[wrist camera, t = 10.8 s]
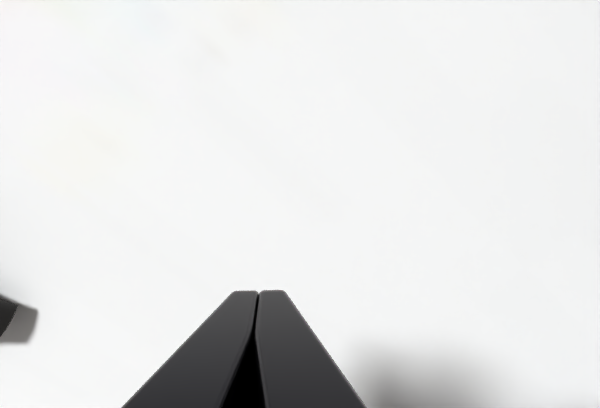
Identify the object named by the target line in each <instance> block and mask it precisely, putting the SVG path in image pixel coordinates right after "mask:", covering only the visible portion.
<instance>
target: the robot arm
mask: <svg viewBox="0 0 600 408" xmlns="http://www.w3.org/2000/svg"><path fill="white" fill-rule="evenodd" d="M122 408H367V407H366V406H365V404H364V403H363V402H362V400H361V399H360V397H359V396H358V394H357V393H356V392H355V390H354V389H353V387H352V386H351V384H350V383H349V382H348V380H347V379H346V377H345V376H344V375H343V373H342V372H341V370H340V369H339V367H338V366H337V365H336V363H335V362H334V360H333V359H332V357H331V356H330V355H329V353H328V352H327V350H326V349H325V348H324V346H323V345H322V343H321V342H320V340H319V339H318V338H317V336H316V335H315V333H314V332H313V331H312V329H311V328H310V326H309V325H308V323H307V322H306V321H305V319H304V318H303V316H302V315H301V313H300V312H299V311H298V309H297V308H296V306H295V305H294V304H293V302H292V301H291V299H290V298H289V296H288V295H287V294H286V292H285V291H283V290H263V291H261V292H260V293H259V294H258V292H257V291H234V292H232V293H231V294H230V295H229V296H228V297H227V299H226V300H225V301H224V302H223V303H222V304H221V305H220V306H219V307H218V308H217V309H216V310H215V311H214V312H213V313H212V314H211V315H210V316H209V317H208V318H207V319H206V320H205V321H204V322H203V323H202V324H201V326H200V327H199V328H198V329H197V330H196V331H195V332H194V333H193V334H192V335H191V336H190V337H189V338H188V339H187V340H186V341H185V342H184V343H183V344H182V345H181V346H180V347H179V348H178V349H177V350H176V351H175V353H174V354H173V355H172V356H171V357H170V358H169V359H168V360H167V361H166V362H165V363H164V364H163V365H162V366H161V367H160V368H159V369H158V370H157V371H156V372H155V373H154V374H153V375H152V376H151V377H150V379H149V380H148V381H147V382H146V383H145V384H144V385H143V386H142V387H141V388H140V389H139V390H138V391H137V392H136V393H135V394H134V395H133V396H132V397H131V398H130V399H129V400H128V401H127V402H126V403H125V404H124V406H123V407H122Z"/></svg>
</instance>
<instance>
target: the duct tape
mask: <svg viewBox="0 0 600 408" xmlns="http://www.w3.org/2000/svg"><path fill="white" fill-rule="evenodd" d="M17 307H18V305H15V304H12V303H10V302H7V301H4V300H2V299H0V336H1V335H2V334H3V333H4V331H5V330H6V328H7V327H8V325H9V324H10V322H11V320H12V318H13V316H14V314H15V312H16V310H17Z"/></svg>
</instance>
